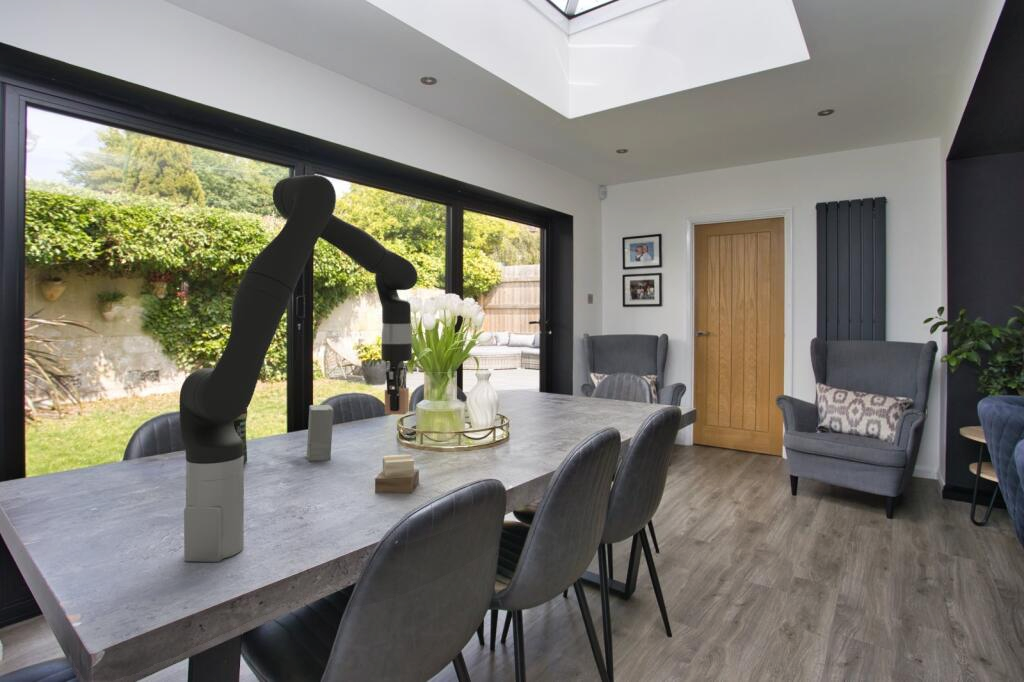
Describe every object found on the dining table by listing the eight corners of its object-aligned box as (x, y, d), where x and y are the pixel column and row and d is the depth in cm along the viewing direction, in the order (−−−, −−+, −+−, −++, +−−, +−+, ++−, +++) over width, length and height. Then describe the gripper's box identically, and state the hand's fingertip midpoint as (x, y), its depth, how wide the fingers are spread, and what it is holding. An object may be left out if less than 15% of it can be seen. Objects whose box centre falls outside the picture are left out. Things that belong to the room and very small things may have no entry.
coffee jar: (232, 471, 153) (232, 404, 152) (205, 469, 154) (205, 403, 153) (252, 462, 163) (252, 399, 162) (227, 461, 164) (227, 398, 163)
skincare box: (306, 455, 172) (306, 405, 171) (330, 453, 175) (330, 403, 174) (308, 462, 164) (308, 409, 163) (333, 460, 167) (334, 407, 166)
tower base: (411, 495, 136) (411, 479, 136) (375, 494, 136) (375, 478, 136) (418, 484, 145) (418, 469, 145) (384, 483, 145) (384, 468, 145)
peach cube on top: (405, 414, 137) (404, 390, 137) (384, 414, 137) (384, 390, 137) (408, 410, 142) (408, 387, 142) (389, 410, 142) (389, 387, 142)
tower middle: (413, 476, 138) (413, 460, 138) (384, 478, 136) (385, 462, 136) (410, 469, 144) (410, 454, 144) (382, 471, 142) (382, 455, 142)
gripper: (406, 343, 132) (406, 414, 132) (416, 340, 146) (416, 404, 147) (374, 343, 132) (375, 414, 132) (388, 340, 146) (388, 404, 147)
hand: (397, 408), depth 140 cm, fingers closed on peach cube on top, 5 cm apart
